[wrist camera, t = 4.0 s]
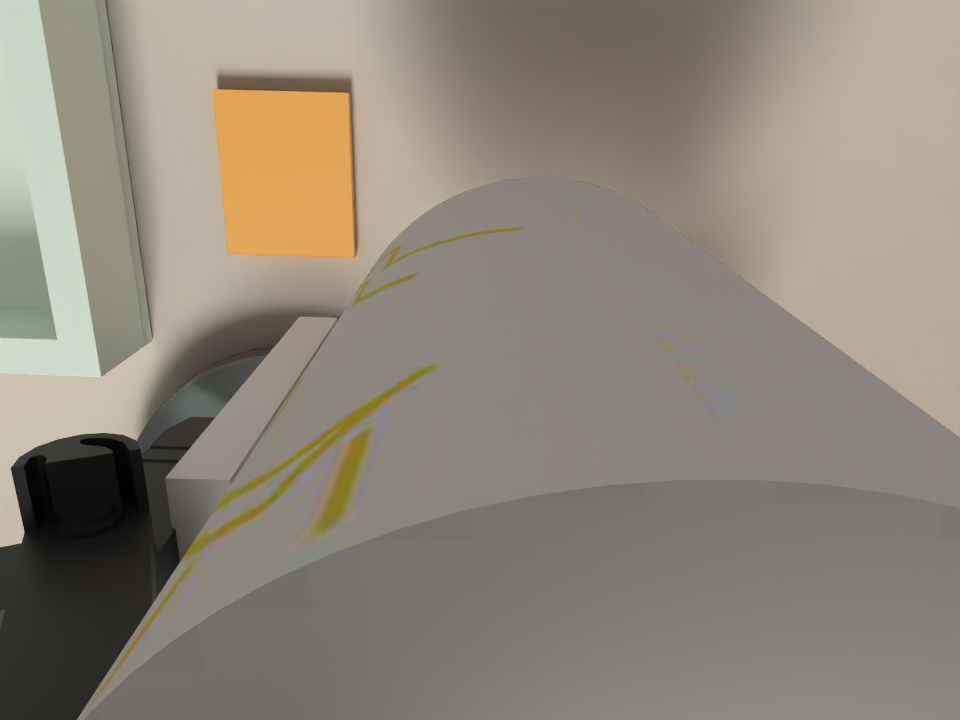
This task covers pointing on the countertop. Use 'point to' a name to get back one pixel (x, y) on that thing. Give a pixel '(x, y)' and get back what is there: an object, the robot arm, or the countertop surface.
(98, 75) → the tray
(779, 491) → the cup
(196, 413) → the crank base
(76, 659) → the robot arm
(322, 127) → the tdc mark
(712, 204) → the countertop surface
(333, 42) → the countertop surface
